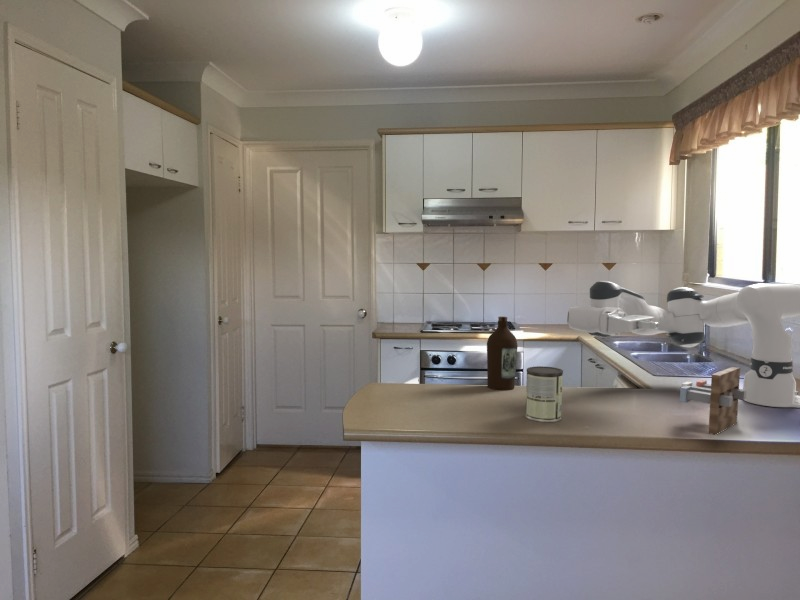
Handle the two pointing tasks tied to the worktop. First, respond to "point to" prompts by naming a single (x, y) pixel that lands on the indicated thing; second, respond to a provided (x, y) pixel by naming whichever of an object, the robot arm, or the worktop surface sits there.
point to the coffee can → (544, 394)
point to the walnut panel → (719, 386)
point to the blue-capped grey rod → (702, 396)
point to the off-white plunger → (701, 388)
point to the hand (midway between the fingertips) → (657, 325)
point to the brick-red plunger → (737, 392)
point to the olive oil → (501, 357)
